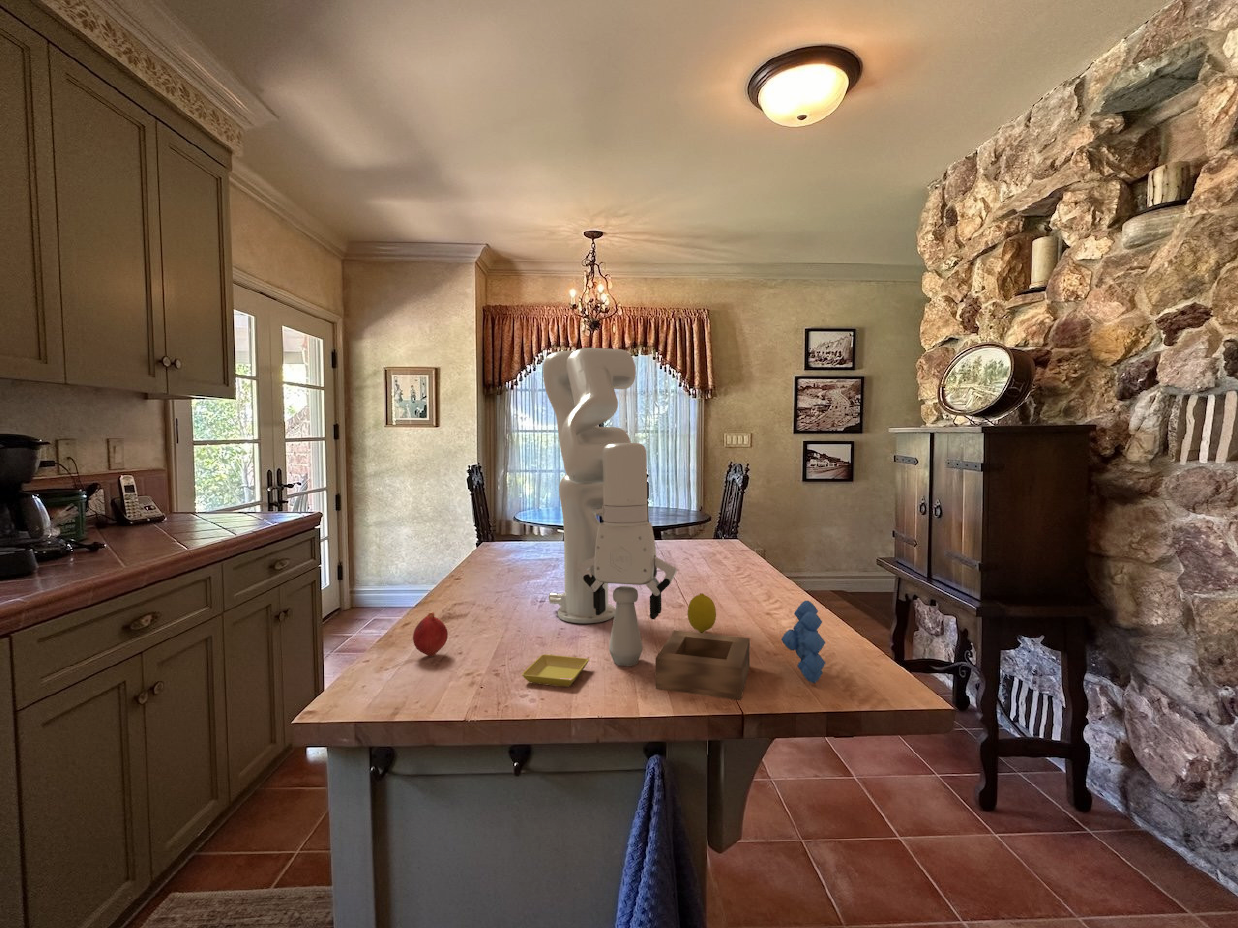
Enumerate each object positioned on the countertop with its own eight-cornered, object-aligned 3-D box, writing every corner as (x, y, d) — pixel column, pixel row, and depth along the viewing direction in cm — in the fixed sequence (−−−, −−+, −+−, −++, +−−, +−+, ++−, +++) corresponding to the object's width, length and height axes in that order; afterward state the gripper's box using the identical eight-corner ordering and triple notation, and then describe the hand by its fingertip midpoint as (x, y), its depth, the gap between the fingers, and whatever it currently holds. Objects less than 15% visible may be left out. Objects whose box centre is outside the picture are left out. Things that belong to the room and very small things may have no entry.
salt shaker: (639, 669, 94) (639, 592, 94) (606, 667, 95) (605, 591, 95) (644, 656, 100) (644, 583, 99) (613, 654, 101) (612, 582, 101)
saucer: (572, 693, 87) (572, 679, 87) (520, 686, 89) (520, 673, 89) (590, 670, 95) (590, 658, 95) (542, 665, 97) (542, 653, 97)
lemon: (718, 630, 113) (718, 590, 113) (713, 639, 108) (713, 598, 108) (690, 627, 115) (690, 588, 115) (684, 636, 110) (684, 595, 110)
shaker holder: (655, 688, 87) (655, 657, 87) (674, 657, 100) (674, 630, 99) (741, 700, 83) (741, 668, 83) (749, 665, 96) (749, 638, 95)
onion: (416, 665, 97) (414, 619, 97) (411, 653, 102) (410, 610, 102) (450, 658, 100) (449, 613, 99) (444, 648, 105) (443, 605, 104)
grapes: (775, 661, 98) (775, 592, 97) (815, 662, 97) (816, 593, 96) (786, 691, 86) (787, 613, 86) (833, 693, 85) (833, 614, 85)
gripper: (570, 516, 95) (571, 617, 96) (670, 518, 90) (671, 625, 90) (586, 512, 103) (588, 606, 103) (680, 513, 97) (681, 612, 97)
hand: (627, 615), depth 97 cm, fingers open, 9 cm apart
